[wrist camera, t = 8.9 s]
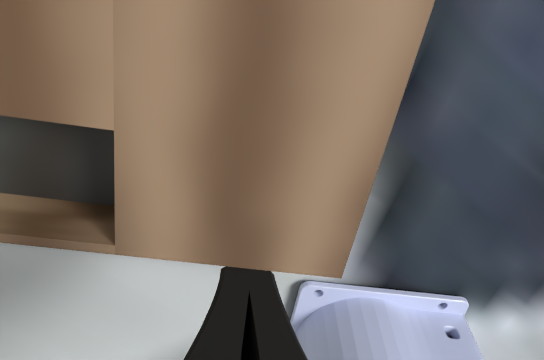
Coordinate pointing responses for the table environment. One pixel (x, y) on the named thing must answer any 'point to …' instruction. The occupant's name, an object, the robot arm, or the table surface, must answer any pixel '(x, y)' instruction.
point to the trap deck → (199, 125)
